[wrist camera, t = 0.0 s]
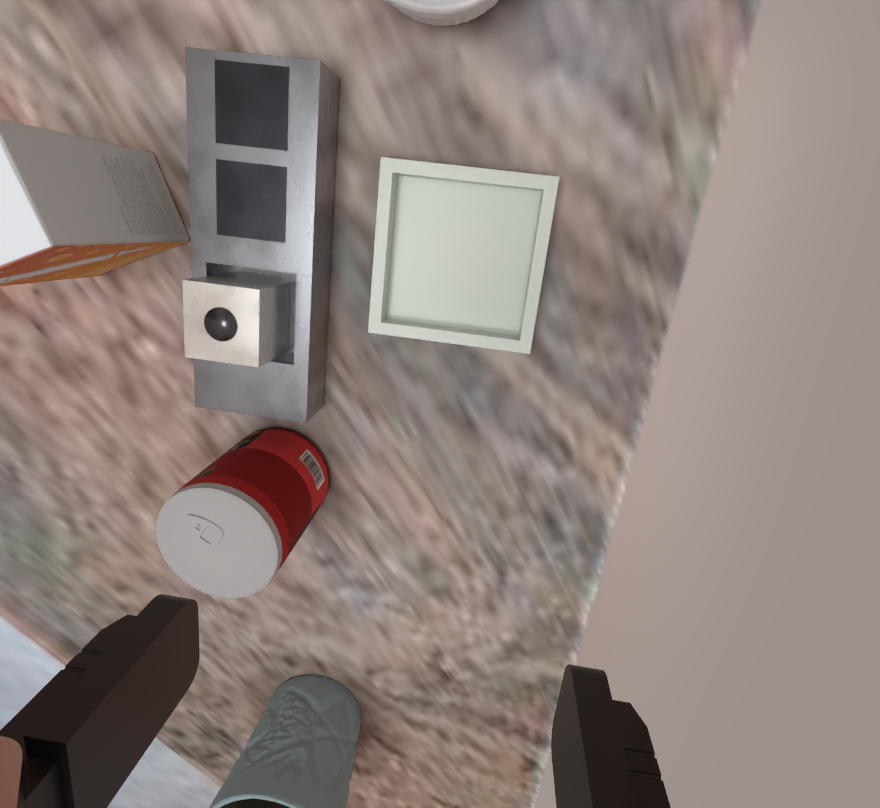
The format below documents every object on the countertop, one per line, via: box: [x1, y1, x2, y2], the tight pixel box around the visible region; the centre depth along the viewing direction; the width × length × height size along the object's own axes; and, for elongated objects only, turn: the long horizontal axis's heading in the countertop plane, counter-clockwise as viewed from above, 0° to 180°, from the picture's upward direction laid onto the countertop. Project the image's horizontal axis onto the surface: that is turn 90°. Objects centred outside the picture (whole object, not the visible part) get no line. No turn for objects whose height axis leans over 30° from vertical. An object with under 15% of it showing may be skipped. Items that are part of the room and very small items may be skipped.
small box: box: [0, 119, 190, 286], centre depth 33 cm, size 8×6×13 cm
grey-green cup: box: [210, 675, 361, 808], centre depth 45 cm, size 10×10×12 cm
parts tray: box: [368, 157, 559, 354], centre depth 36 cm, size 11×11×2 cm
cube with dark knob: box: [183, 271, 296, 367], centre depth 36 cm, size 5×5×7 cm
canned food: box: [156, 428, 329, 598], centre depth 39 cm, size 8×8×11 cm
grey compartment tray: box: [185, 47, 340, 423], centre depth 37 cm, size 22×8×4 cm, turn 173°
